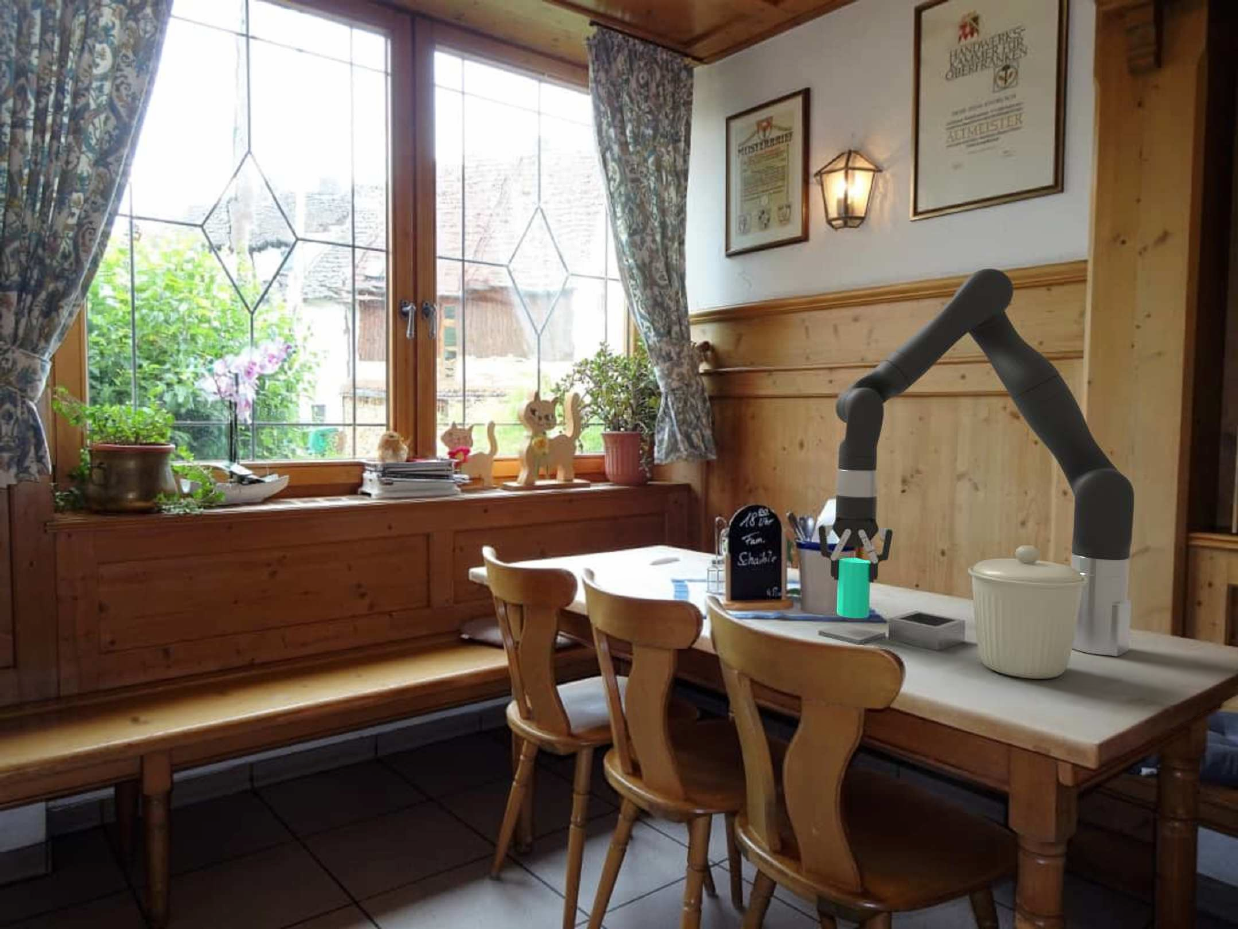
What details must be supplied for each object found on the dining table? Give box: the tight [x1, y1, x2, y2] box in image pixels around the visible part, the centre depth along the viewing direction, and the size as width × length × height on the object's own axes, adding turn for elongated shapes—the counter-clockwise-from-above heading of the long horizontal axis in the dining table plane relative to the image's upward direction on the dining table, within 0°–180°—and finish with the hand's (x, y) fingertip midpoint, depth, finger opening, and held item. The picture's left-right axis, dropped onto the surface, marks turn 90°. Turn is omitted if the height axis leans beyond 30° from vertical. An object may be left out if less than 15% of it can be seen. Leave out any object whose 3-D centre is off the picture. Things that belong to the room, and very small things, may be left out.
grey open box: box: [887, 610, 966, 651], centre depth 163 cm, size 10×10×4 cm
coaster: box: [817, 623, 887, 645], centre depth 166 cm, size 9×9×1 cm
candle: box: [836, 552, 871, 619], centre depth 165 cm, size 6×6×12 cm
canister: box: [967, 545, 1088, 680], centre depth 144 cm, size 18×18×21 cm
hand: (853, 580), depth 165 cm, fingers closed on candle, 6 cm apart
